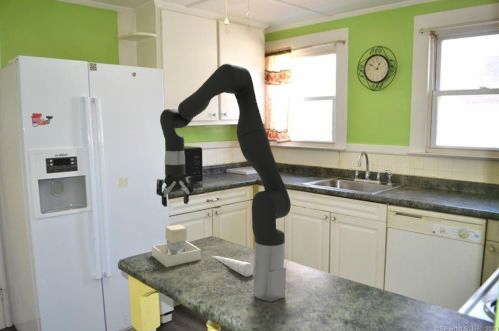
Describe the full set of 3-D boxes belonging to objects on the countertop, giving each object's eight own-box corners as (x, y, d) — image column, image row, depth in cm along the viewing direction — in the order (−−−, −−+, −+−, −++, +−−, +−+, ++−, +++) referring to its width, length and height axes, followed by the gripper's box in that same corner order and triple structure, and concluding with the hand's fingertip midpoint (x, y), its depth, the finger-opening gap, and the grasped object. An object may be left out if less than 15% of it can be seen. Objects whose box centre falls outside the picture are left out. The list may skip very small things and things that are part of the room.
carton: (186, 240, 149) (186, 228, 149) (171, 243, 146) (171, 230, 145) (179, 236, 154) (179, 224, 154) (165, 239, 151) (165, 226, 150)
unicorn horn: (219, 255, 156) (219, 243, 156) (254, 275, 137) (254, 262, 136) (209, 257, 153) (209, 246, 153) (243, 278, 134) (243, 265, 134)
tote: (200, 260, 149) (200, 249, 149) (166, 268, 141) (166, 256, 141) (184, 250, 161) (184, 239, 160) (152, 257, 153) (151, 245, 152)
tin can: (188, 258, 150) (188, 240, 149) (171, 262, 146) (171, 244, 145) (180, 253, 156) (180, 236, 155) (164, 256, 152) (163, 239, 151)
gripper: (161, 164, 139) (161, 209, 141) (196, 162, 148) (196, 204, 149) (153, 162, 145) (154, 205, 147) (187, 160, 154) (188, 201, 155)
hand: (175, 204), depth 148 cm, fingers open, 8 cm apart
